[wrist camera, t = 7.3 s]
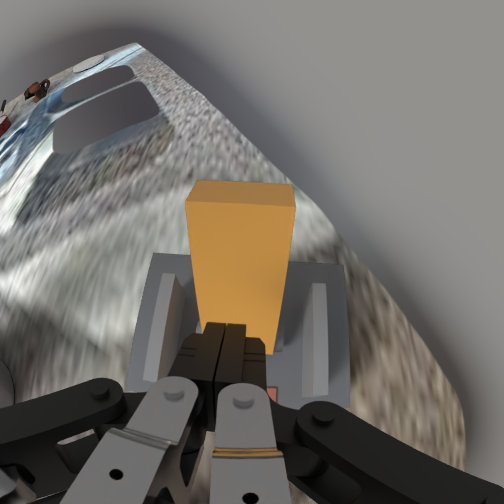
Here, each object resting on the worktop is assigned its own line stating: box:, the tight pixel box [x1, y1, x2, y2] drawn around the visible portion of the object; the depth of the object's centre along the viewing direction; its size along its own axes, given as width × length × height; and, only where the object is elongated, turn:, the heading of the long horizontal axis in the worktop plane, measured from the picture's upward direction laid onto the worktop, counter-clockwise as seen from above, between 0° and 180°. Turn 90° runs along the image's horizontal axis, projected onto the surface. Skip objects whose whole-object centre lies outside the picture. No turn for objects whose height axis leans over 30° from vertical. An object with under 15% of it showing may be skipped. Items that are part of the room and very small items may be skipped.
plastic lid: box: [73, 55, 104, 72], centre depth 78 cm, size 14×14×2 cm
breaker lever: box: [185, 180, 296, 355], centre depth 17 cm, size 6×2×13 cm, turn 86°
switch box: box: [125, 253, 350, 410], centre depth 23 cm, size 18×13×10 cm
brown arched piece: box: [24, 79, 50, 103], centre depth 66 cm, size 12×10×8 cm
